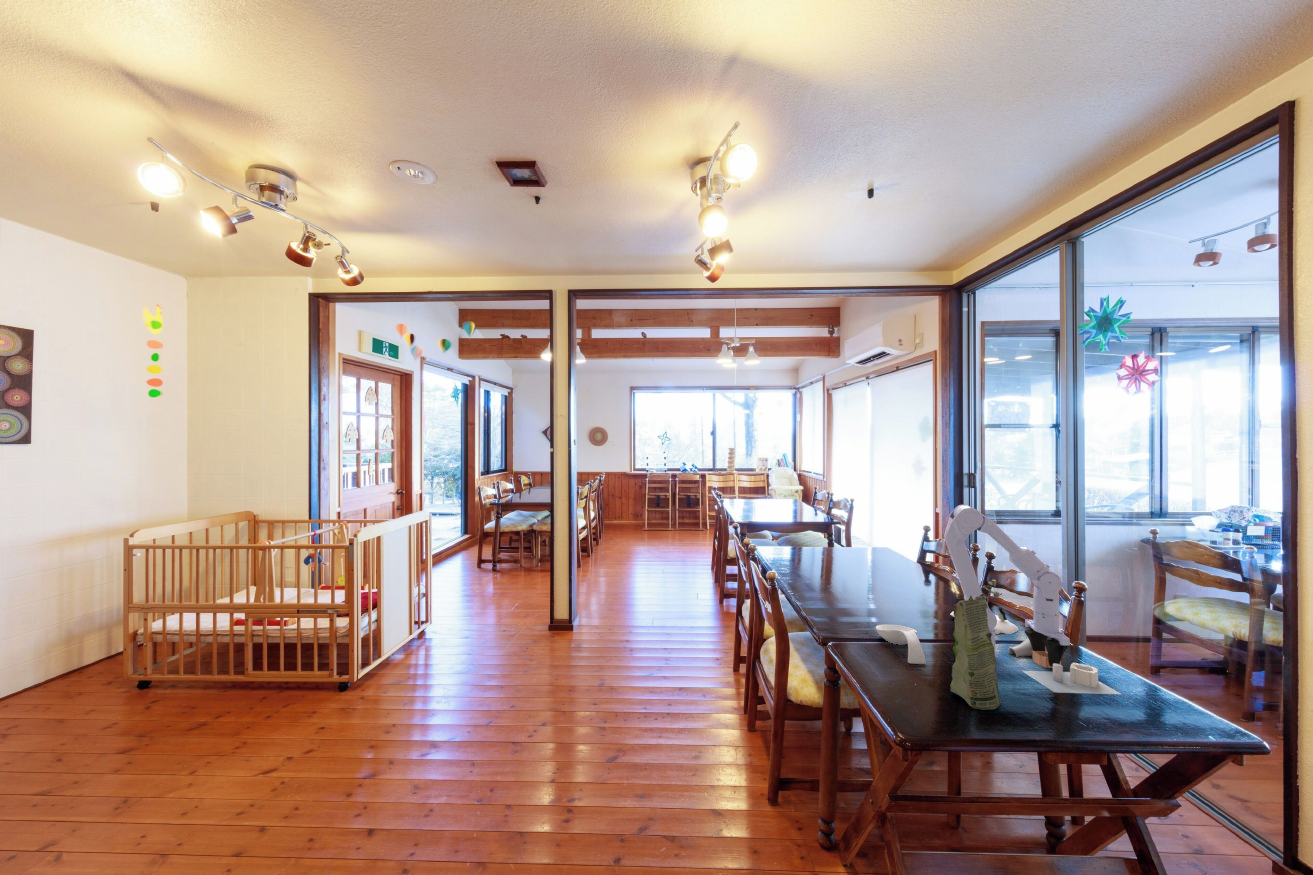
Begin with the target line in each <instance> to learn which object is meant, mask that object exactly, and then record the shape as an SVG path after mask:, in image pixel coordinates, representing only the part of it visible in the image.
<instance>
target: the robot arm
mask: <svg viewBox="0 0 1313 875" xmlns="http://www.w3.org/2000/svg"><path fill="white" fill-rule="evenodd" d="M976 530H977V531H979V532H981V533H983V534H987V535H988V536H990V538H991V539H992V540H994V541H995V542H996V543H997V544H998V545H1000V547H1001V548H1003V550H1005V551H1006V552H1007V553H1008V559H1009V561H1010V562H1011V563H1012V564H1013V565H1014V566H1015V567H1016V568H1017V569H1018V570H1019V571H1020V572H1021V573H1023V575H1024V576H1026V577H1027V578H1028V579H1029V580H1030V582H1031V583H1032V584H1034V585H1033V595H1032V596H1033V597H1032V598H1033V600H1032V601H1033V602H1032V604H1033V608H1032V609H1033V615H1032V616H1033V619H1024V626H1025V627H1026V628H1029V629H1025V630H1024V633H1025V635H1026V636H1027V638H1029V640H1030V643H1031V646H1032V649H1033V651H1045V646H1046V649H1047V653H1048V662H1049V665H1050V666H1052V667H1053V664H1054V663H1055V664H1060V661H1061V662H1062V658H1063V656H1064V654H1065V652H1066V651H1067V649H1068V648H1070V645H1071V639H1070V637H1068V636H1066V635H1065V634H1064V630H1063V629H1062V628H1060V596H1059V593H1060V591H1061V590H1062V588H1063V586H1064V583H1063V582H1062V580H1061V577H1060V576H1059V574H1056V573H1055V572H1054V571H1052V570H1051V569H1050V568H1051V566H1050V565H1049V564H1048V563H1045V562H1043V561H1042V560H1041V559H1040V558H1039V557H1037V555H1036V554H1037V553H1036V551H1034V550H1033V549H1032V548H1030V549H1029V548H1028V547H1026V546H1024V547H1023V546H1018V545H1017V543H1015V541H1014V540H1013V539H1011V538H1010V536H1008V534H1007V533H1005V531H1004V530H1003V529H1001V527H999V526H998V525H997V524H996V523H995V521H993V520H991V519H990V518H989V517H987V516H986V515H984V514H983V513H981V512H980V510H978V509H977V508H974V507H972V506H970V505H969V504H959V505H957V506H955V507H954V509H953V510H952V511H951V512H950V513H949V515H948V520H947V524H946V527H945V531H944V535H943V537H944V542H945V544H946V547H947V550H948V552H949V556H950V559H951V561H952V564H953V567H954V570H955V573H956V575H957V578H958V582H959V585H960V587H961V590H962V592H963V593H962V594H963V600H968V599H969V598H970V596H972V598H973V600H974V598H975V597H979V596H980V595H981V594H982V593H983V591H982V588H981V585H980V583H979V579H978V577H977V574H976V571H975V568H974V566H973V562H972V560H971V557H970V554H969V551H968V548H967V545H966V542H965V541H966V540H967V538H968V537H969V536H970V535H971V534H972V533H973V532H974V531H976ZM985 601H986V603H987V599H985ZM988 604H989V603H988ZM988 604H987V606H988V608H987V609H986V612H987V616H988V617H987V619H988V627H989V630H990V632H991V634H992V636H991V640H992V644H993V646H994V652H995V653H996V634H995V626H996V624H997V618H996V616H995V615H996V613H994V612H993V611H992V610H991V609H990V608H989V605H988ZM1048 638H1050V639H1048Z"/></svg>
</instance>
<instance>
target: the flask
mask: <svg viewBox="0 0 1313 875" xmlns="http://www.w3.org/2000/svg"><path fill="white" fill-rule="evenodd" d="M1032 652H1033V649H1032V646H1031V643H1030V640H1029V638H1028V637H1027V638H1025V640H1023V641H1022V642H1021V643H1020V644H1018V645H1016V646H1008V648H1007V653H1008V654H1011V655H1012V654H1014V655H1015V658H1019V657H1033V653H1032ZM1045 652H1047V649H1046V646H1045Z"/></svg>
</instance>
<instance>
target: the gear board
mask: <svg viewBox="0 0 1313 875" xmlns="http://www.w3.org/2000/svg"><path fill="white" fill-rule="evenodd" d="M1078 664H1079V669H1082V670H1085V671H1089V666H1090V665H1088V666H1087V664H1084V665H1083V663H1078ZM1022 672H1023V673H1024V674H1025V675H1027V676H1029V677H1030V678H1032V679H1033V680H1034V681H1036V682H1037V683H1039V684H1041V685H1042V686H1044V687H1045V688H1047V689H1049V691H1051V692H1053V693H1058V694H1059V693H1060V694H1062V693H1063V694H1093V695H1096V694H1097V695H1123V694H1122V693H1121V692H1119V691H1118V690H1116V689H1115V688H1112V687H1111V686H1108V685H1107V684H1105V683H1103V682H1101V681H1099V680H1098V685H1097V686H1096V687H1091V686H1085V685H1082V684H1078V683H1076V682H1072V681H1070V671H1064V666H1063V665H1062V664H1061V665H1060V664H1055V663H1054V664H1053V668H1052V671H1049V670H1048V671H1045V670H1044V671H1043V670H1036V671H1035V670H1022Z"/></svg>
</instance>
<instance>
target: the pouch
mask: <svg viewBox="0 0 1313 875" xmlns="http://www.w3.org/2000/svg"><path fill="white" fill-rule="evenodd" d="M985 597H987V596H986V593H984V592H982V594H981V595H980V596H979V597H975V598H974V600H973V598H972V596H970V598H969V599H968V600H965V599H962V600H959V601H957V603H955V604H953V608H954V610H953V611H954V616H953V619H954V621H953V622H954V631H953V634H952V636H953V637H954V645H953V646H952V652H953V654H954V655H955V662H954V663H953V664H952V666H951V670H952V671H951V677H952V679H951V683H950V692H951V693H953V694H956V695H957V696H959V697H961V698H962V699H964V701H965V702H966V703H967V704H968V705H969V707H971V708H972V709H977V710H984V711H985V710H986V711H988V710H995V709H997V708H999V707H1000V705H1001V704H1002V703H1001V696H1000V691H999V681H998V675H997V668H996V667H997V660H996V651H995V652H994V646H993V644H992V640H991V636H992V634H991V632H990V630H989V627H988V619H987V617H988V616H987V612H986V609H987V608H988V607H989V605H988V606H987V603H986V602H987V600H986V598H985ZM985 600H986V601H985Z"/></svg>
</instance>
